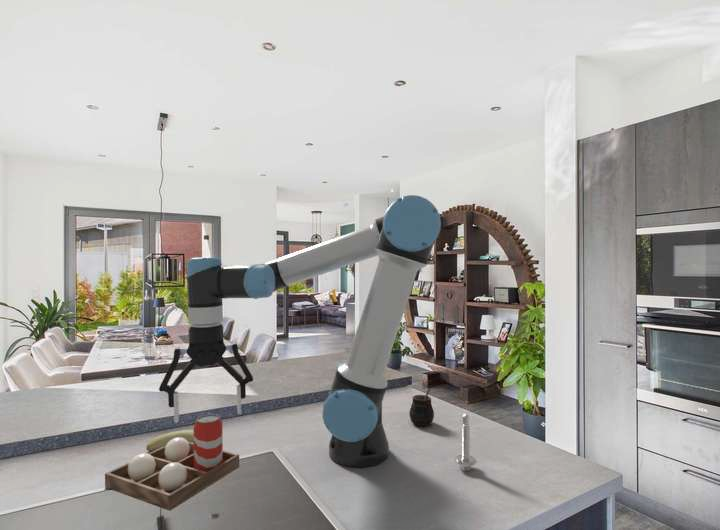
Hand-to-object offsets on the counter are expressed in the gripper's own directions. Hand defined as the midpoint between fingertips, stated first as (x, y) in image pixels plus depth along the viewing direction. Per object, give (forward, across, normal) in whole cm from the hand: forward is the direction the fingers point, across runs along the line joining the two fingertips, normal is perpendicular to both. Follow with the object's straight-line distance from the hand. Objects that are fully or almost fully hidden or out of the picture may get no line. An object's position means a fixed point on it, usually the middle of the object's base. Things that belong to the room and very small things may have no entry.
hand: (208, 416), depth 101 cm
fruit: (+13, +8, -17) cm, 23 cm away
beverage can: (+13, 0, 0) cm, 13 cm away
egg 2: (+12, +8, -7) cm, 16 cm away
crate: (+13, +8, 0) cm, 15 cm away
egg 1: (+12, +14, 0) cm, 19 cm away
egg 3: (+12, +8, +6) cm, 16 cm away
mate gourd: (+14, -60, -11) cm, 62 cm away
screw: (+15, -57, +17) cm, 61 cm away
